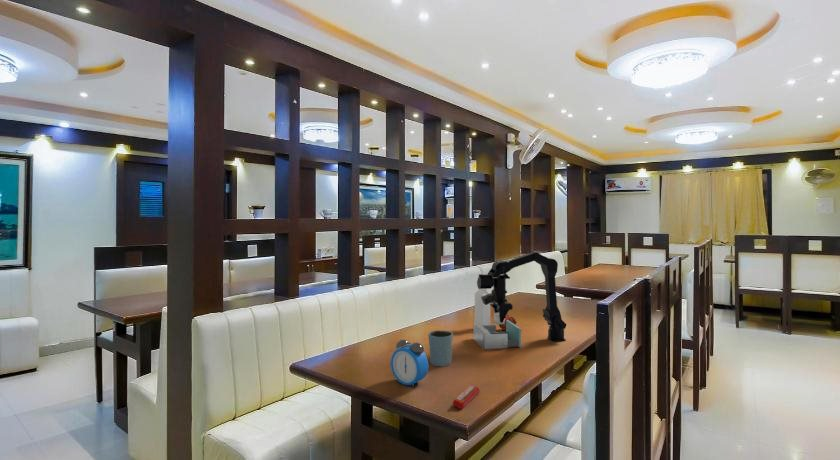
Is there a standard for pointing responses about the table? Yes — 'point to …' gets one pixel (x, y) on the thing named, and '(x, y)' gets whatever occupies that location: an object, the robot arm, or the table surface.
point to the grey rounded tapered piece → (497, 319)
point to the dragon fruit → (505, 322)
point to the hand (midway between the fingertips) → (499, 320)
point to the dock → (489, 337)
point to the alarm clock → (409, 363)
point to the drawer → (512, 334)
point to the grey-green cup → (440, 347)
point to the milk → (481, 308)
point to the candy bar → (466, 396)
